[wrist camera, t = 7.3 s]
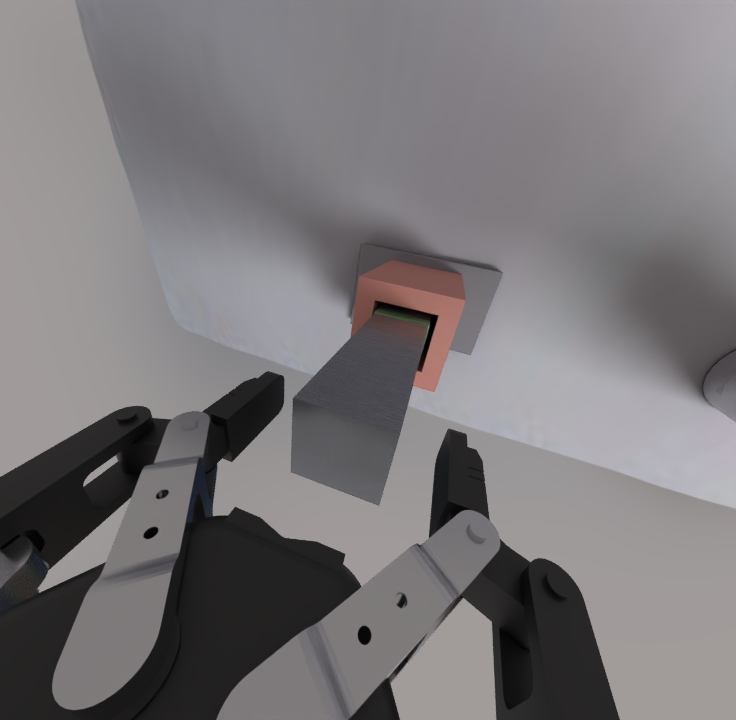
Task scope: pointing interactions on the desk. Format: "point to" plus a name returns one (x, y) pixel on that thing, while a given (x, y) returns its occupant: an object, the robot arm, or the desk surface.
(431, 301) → the stand sleeve
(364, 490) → the steel column
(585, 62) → the desk surface
